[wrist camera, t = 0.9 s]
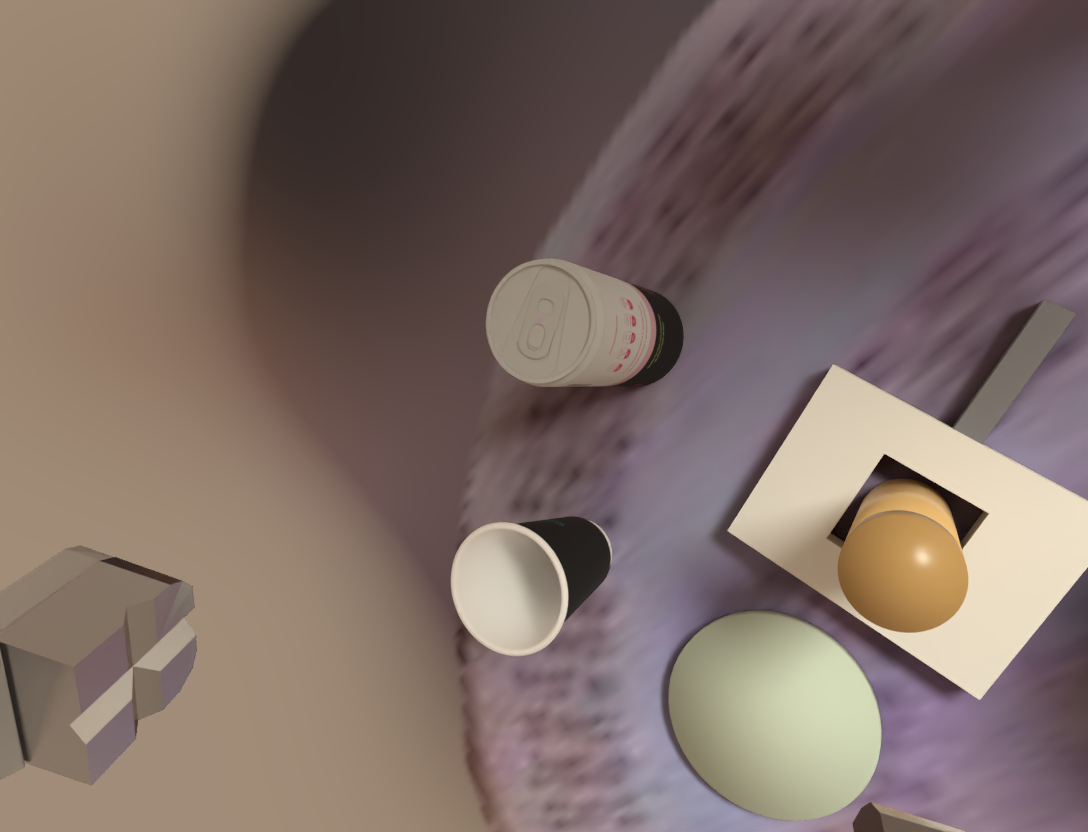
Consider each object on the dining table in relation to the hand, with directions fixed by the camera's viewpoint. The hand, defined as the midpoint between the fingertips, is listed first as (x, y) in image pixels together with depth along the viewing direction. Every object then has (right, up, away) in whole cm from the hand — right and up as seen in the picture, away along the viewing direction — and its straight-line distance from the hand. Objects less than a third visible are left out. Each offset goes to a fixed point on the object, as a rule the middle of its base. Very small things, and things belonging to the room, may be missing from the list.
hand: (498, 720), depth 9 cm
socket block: (+24, +1, +33) cm, 41 cm away
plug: (+22, -3, +34) cm, 41 cm away
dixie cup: (+3, -6, +44) cm, 45 cm away
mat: (+15, -15, +38) cm, 44 cm away
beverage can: (+7, +9, +42) cm, 43 cm away
